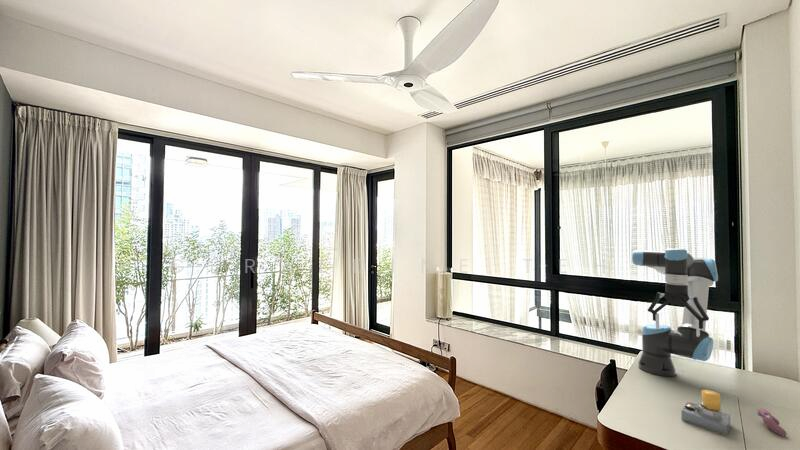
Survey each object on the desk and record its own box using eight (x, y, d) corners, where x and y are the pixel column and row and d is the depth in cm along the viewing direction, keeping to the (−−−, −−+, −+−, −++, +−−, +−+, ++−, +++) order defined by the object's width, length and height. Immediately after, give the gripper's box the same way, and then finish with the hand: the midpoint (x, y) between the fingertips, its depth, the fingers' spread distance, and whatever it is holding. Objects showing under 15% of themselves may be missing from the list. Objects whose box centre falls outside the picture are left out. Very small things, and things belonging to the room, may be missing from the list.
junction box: (681, 419, 120) (681, 403, 121) (687, 410, 127) (687, 395, 128) (726, 435, 111) (726, 418, 111) (730, 424, 118) (730, 408, 118)
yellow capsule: (701, 414, 118) (700, 392, 119) (703, 409, 122) (702, 388, 122) (719, 420, 114) (719, 397, 115) (721, 415, 118) (721, 393, 118)
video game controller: (764, 425, 121) (751, 405, 123) (780, 424, 118) (767, 404, 120) (771, 438, 113) (758, 416, 115) (789, 436, 110) (775, 415, 113)
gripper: (639, 281, 147) (640, 327, 147) (715, 288, 128) (715, 341, 128) (643, 279, 152) (644, 323, 152) (717, 286, 133) (717, 337, 133)
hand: (677, 332), depth 140 cm, fingers open, 13 cm apart
